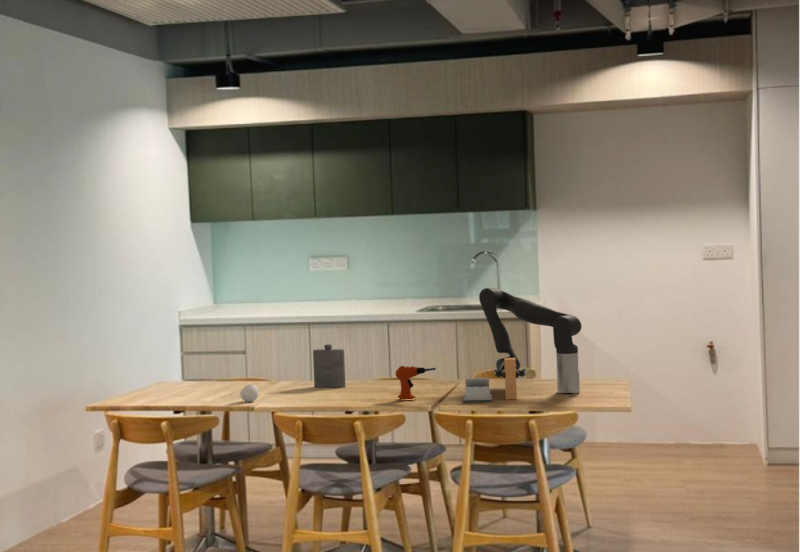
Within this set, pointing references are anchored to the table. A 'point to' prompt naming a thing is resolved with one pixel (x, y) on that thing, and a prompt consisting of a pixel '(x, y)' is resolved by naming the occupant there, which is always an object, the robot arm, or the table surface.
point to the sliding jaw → (477, 382)
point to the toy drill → (406, 383)
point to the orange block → (510, 378)
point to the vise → (477, 394)
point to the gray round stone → (249, 393)
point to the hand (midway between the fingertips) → (510, 375)
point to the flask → (329, 367)
